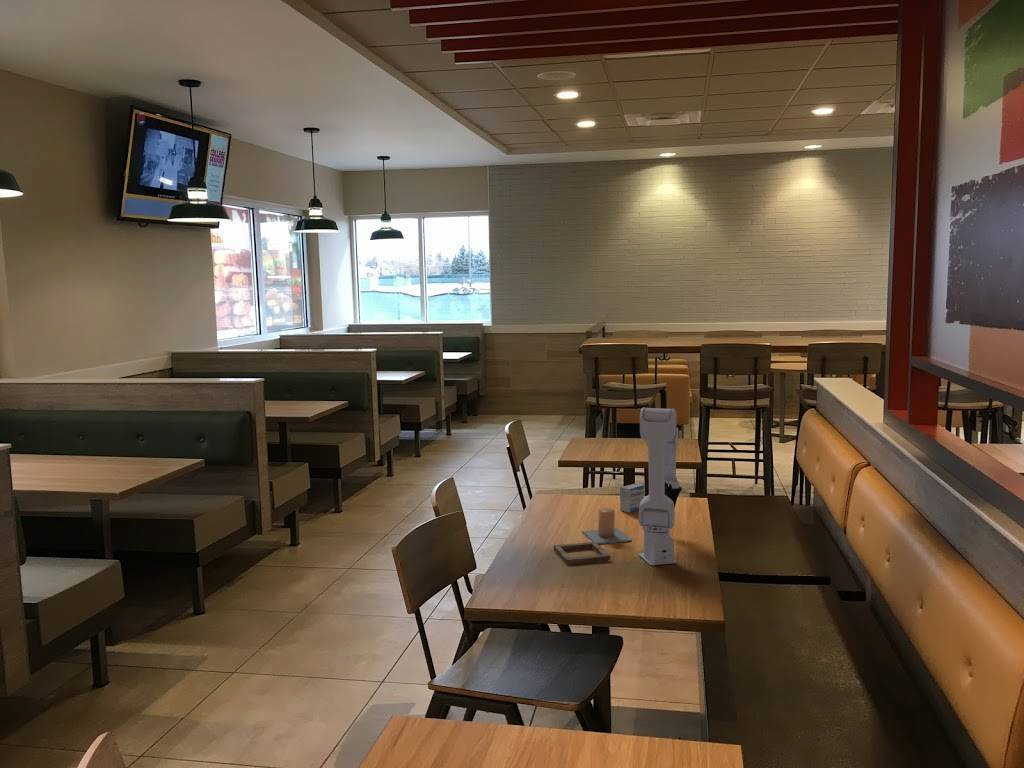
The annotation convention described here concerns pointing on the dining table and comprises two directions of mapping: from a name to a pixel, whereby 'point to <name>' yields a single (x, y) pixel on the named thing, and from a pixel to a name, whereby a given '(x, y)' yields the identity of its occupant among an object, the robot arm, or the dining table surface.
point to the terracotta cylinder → (606, 523)
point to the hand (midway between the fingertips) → (666, 505)
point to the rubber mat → (594, 537)
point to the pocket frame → (577, 560)
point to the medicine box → (631, 497)
